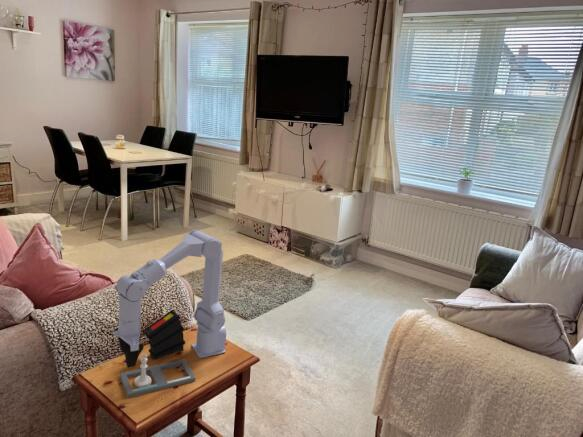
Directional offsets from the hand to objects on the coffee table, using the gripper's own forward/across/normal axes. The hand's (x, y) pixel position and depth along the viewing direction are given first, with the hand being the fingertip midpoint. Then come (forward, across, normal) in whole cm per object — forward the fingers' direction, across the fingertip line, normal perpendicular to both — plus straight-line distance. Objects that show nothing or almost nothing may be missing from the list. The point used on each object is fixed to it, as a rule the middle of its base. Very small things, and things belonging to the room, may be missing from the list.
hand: (128, 358), depth 124 cm
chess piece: (+10, 0, +4) cm, 11 cm away
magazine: (+10, -12, +14) cm, 21 cm away
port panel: (+9, 0, +9) cm, 13 cm away
